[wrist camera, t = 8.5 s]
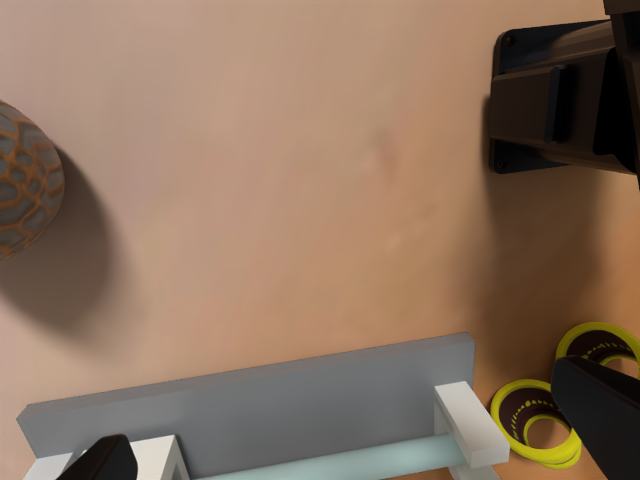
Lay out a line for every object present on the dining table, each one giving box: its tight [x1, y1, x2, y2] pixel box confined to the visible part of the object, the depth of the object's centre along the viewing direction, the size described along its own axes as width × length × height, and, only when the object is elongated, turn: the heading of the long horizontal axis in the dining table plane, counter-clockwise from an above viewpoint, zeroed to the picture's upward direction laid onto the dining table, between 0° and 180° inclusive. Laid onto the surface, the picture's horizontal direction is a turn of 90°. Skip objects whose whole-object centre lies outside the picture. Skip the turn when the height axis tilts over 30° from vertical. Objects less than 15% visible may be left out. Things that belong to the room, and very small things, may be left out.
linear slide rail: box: [16, 332, 510, 480], centre depth 20 cm, size 26×10×6 cm, turn 96°
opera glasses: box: [490, 322, 640, 469], centre depth 22 cm, size 10×5×5 cm, turn 137°
